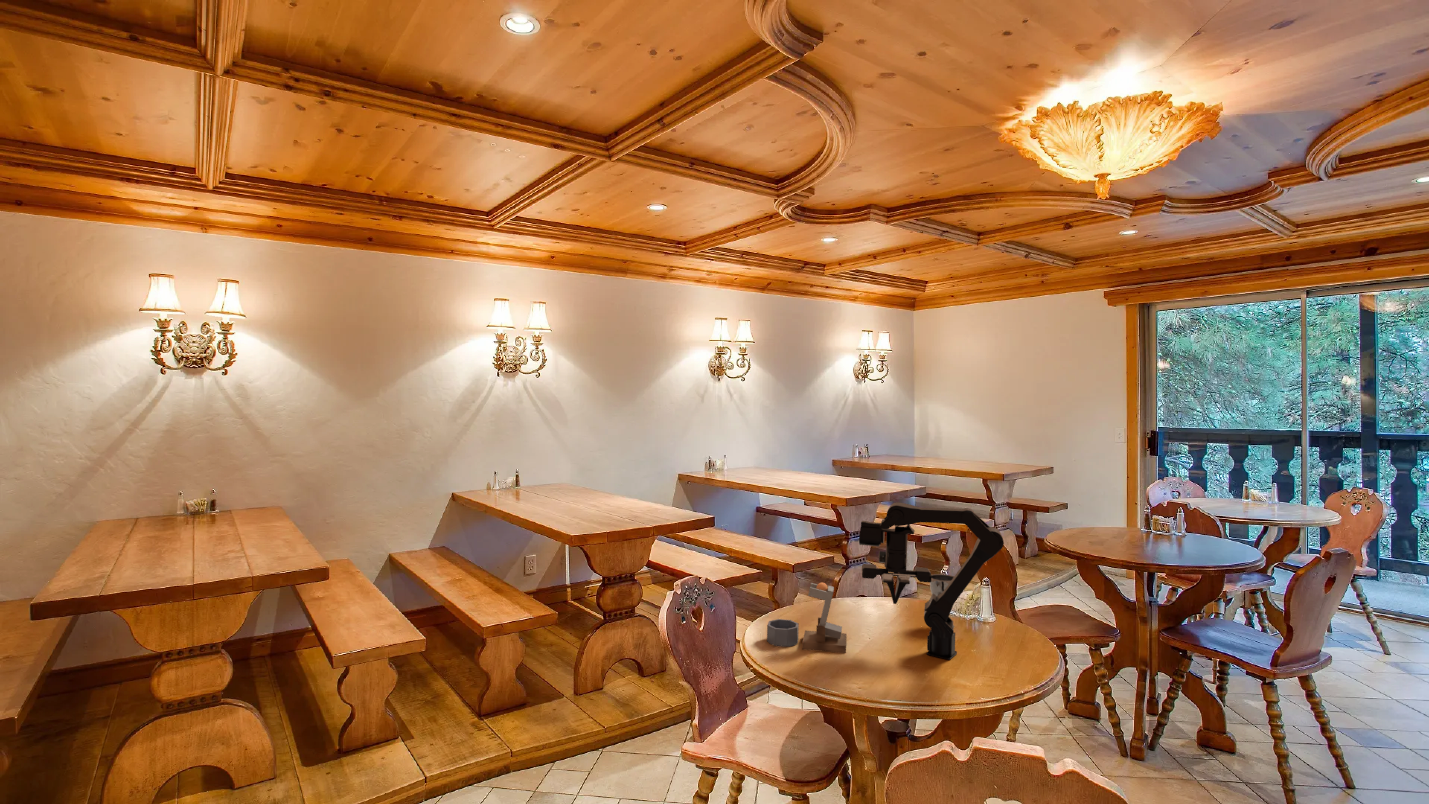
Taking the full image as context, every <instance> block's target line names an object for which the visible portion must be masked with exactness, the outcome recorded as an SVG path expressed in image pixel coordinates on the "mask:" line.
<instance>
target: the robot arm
mask: <svg viewBox="0 0 1429 804" xmlns="http://www.w3.org/2000/svg"><path fill="white" fill-rule="evenodd" d="M919 523H920V524H921V523H930V524H955V525H956V524H957V525H965V526H966V527H967V528H968V529H969V530H970V531H971V532H972V533H973V534H974V535H975V537H976V538H977V540H976V541H975V543H974V546H973V548H972V551H971V553H970V554H969V556H968V557H967V558H966V560H965V562H964V563H963V564H962V565H961V566H960V568H959V570H958V571H957V572H956V573H955V575H953V576H954V578H953V579H952V580H951V582H950V583H949V584H948V586H947V587H946V588H945V590H944V591H943V592H942V593H941V594H940V595H938V596H936V595H935V594H934V593H933V594H932V593H931V596H930V598H929V600H928V601H926V602H925V603H924V609H923V610H924V613H923V615H924V616H923V619H924V620H923V621H924V623H925V625H926V626H927V627H928V628H930V630H929V631H928V632H929V633H928V635H927V639H926V641H927V642H926V643H927V644H926V646H927V647H926V650H927V652H926V655H927V656H932V657H936V658H940V659H944V660H949V661H951V660H952V659H953V657H955V656H956V655H957V654H958V651H956V632H954V631H955V629H954V628H955V626H954V627H953V625H954V620H953V619H952V618H951V617H950V614H951V613H952V612H951V611H952V609H953V608H954V605H955V602H956V601H958V599H959V597H960V596H961V595H962V593H963V592H964V591H965V590H966V588H967V586H969V584H970V583H971V581H972V580H973V579H974V578H975V576H976V575H977V574H978V572H979V571H980V569H981V568H982V566H983V565H985V564H986V562H988V561H989V560H990V559H992V558H994V557H995V556H996V555H997V554H998V553H999V552H1000V551H1001V550H1002V549H1003V547H1004V544H1005V542H1004V537H1003V536H1002V533H1001V531H1000V530H999V529H997V528H996V527H992V526H989V524H987V522H986V521H985V520H983V519H982V518H981V517H979V516H978V515H977V514H976V513H975V511H974V510H973V509H971V508H968V507H966V508H944V507H942V508H941V507H940V508H939V507H920V506H915V505H913V504H909V503H904V502H893V503H892V504H891V505H890V506H889V507H888V509H887V511H886V516H885V517H884V518H882V519H881V522H876V521H875V522H872V521H867V520H862V521H861V522H860V530H859V531H860V532H859V533H858V534H859V535H858V542H859V543H858V544H859V546H866V547H867V546H869V547H879V548H880V547H881V545H882V544H886V545H885V551H881V550H879V551H878V563H879V564H884V568H878V567H877V565H876V564H874V563H873V564H872V563H863V564H862V565H861V570H860V571H861V578H862V579H870V580H871V579H872V580H874V579H875V578H876V577H877V576H881V579H882V582H883V583H884V584H885V583H886V584H887V587H888V589H889V593H890V595H891V600H892V603H893V605H894V604H895V605H896V604H897V603H898V601H899V598H900V596H901V594H902V592H903V590H904V589H905V588H906V585H910V583H911V581H910V579H911V578H915V579H917V581H918V582H919V583H929V584H930V582H931V575H932V573H931V571H930V569H928V567H921V566H920V567H917V566H915V567H914V570H913V569H912V570H911V569H907V567H908V566H907V561H908V559H907V558H908V535H914V534H915V532H916V531H915V529H914V528H913V527H911V525H913V524H919ZM893 526H894V528H893ZM885 534H886V537H885ZM885 538H886V541H885ZM894 577H896V586H895V582H894Z"/></svg>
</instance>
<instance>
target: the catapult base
mask: <svg viewBox="0 0 1429 804" xmlns="http://www.w3.org/2000/svg"><path fill="white" fill-rule="evenodd" d="M820 620H821V617H817V625H816V629H815V630H816V631H815V630H804V633H803V634H804V635H803V639H802V645H801V646H802V647H801V648H802V650H804V651H816V652H817V651H818V652H827V653H828V652H831V653H839V654H840V653H842V654H846V653H847V640H848V639H847V633H843V632H842V633H841V637H840V639H838V638H834V637H831V636H827V635H825V626H819V623H820Z"/></svg>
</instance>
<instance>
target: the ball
mask: <svg viewBox="0 0 1429 804" xmlns="http://www.w3.org/2000/svg"><path fill="white" fill-rule="evenodd" d="M816 589H819V590H823V591H826V592H827V590H828V585H827V584H826V583H825V582H819V583H817V588H816Z"/></svg>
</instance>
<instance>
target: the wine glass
mask: <svg viewBox="0 0 1429 804" xmlns="http://www.w3.org/2000/svg"><path fill="white" fill-rule="evenodd" d="M954 576H955V575H950V574H944V573H934V574H933V573H932V574H931V582H930V583H929V589H930V593H931V595H932V594H933V593H934V594H935V595H936V596H938V595H940V594H941V593H942V592H943V591H944V590H945V588H946V587H947V586H948V584H949V583H950V582H951V580H952V579H953V578H954ZM953 627H954V628H955V625H954V624H953Z"/></svg>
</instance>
